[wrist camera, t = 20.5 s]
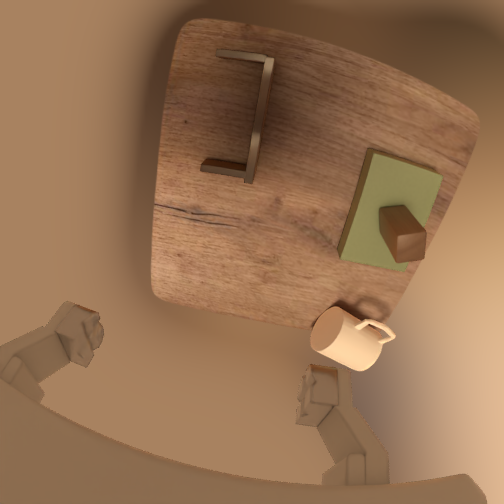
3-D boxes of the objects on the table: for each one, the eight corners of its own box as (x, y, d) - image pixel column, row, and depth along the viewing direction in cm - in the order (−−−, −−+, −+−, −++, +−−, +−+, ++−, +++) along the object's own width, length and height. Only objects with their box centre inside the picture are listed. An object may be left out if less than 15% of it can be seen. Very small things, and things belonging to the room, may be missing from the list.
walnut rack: (221, 51, 32) (211, 45, 27) (276, 58, 32) (275, 53, 27) (205, 165, 41) (193, 178, 36) (255, 173, 41) (251, 188, 36)
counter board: (367, 147, 37) (373, 152, 35) (434, 169, 37) (443, 176, 35) (336, 248, 46) (339, 259, 43) (398, 261, 46) (404, 272, 43)
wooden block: (404, 229, 39) (425, 260, 33) (378, 233, 40) (395, 265, 33) (405, 203, 37) (427, 231, 31) (378, 207, 38) (396, 235, 31)
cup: (361, 288, 46) (399, 315, 48) (313, 317, 54) (351, 338, 57) (359, 333, 40) (399, 356, 43) (306, 356, 49) (347, 375, 51)
